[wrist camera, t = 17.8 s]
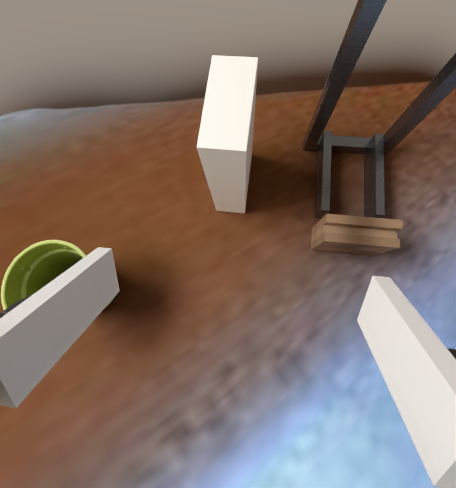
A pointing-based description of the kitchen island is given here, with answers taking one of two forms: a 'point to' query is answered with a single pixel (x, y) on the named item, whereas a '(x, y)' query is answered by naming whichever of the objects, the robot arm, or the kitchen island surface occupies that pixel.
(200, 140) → the white block
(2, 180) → the kitchen island surface
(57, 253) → the plant pot
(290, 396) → the kitchen island surface
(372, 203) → the frame
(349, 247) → the offcut stack
